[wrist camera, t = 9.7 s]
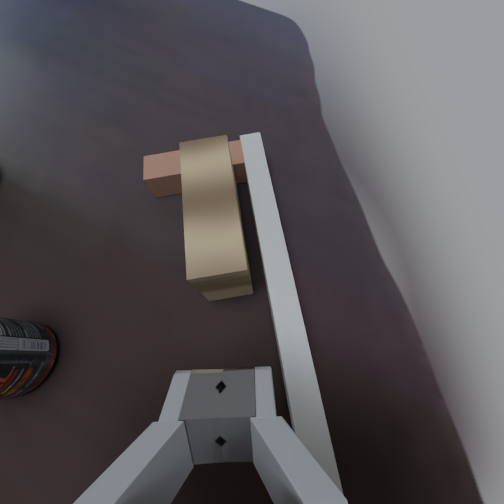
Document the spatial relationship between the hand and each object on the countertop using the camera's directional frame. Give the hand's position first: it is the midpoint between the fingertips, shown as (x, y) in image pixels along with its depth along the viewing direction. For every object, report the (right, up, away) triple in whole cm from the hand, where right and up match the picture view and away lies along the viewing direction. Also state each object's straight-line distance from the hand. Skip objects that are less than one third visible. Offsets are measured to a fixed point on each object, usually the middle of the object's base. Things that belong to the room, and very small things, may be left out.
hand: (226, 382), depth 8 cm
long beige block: (-2, +5, +17) cm, 18 cm away
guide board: (-2, +1, +15) cm, 15 cm away
